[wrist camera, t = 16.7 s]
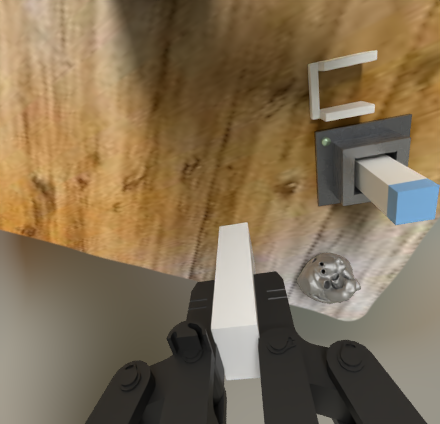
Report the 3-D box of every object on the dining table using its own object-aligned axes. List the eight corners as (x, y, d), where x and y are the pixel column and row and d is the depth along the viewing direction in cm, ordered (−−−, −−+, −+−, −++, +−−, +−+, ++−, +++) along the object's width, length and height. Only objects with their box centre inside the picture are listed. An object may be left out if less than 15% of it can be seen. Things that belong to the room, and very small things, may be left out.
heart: (276, 261, 51) (297, 318, 41) (313, 227, 47) (347, 280, 38) (312, 281, 55) (340, 337, 45) (350, 250, 52) (388, 304, 42)
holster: (307, 64, 37) (315, 63, 33) (362, 52, 36) (377, 50, 32) (310, 118, 40) (317, 123, 36) (361, 108, 39) (374, 112, 35)
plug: (348, 155, 41) (398, 192, 29) (376, 149, 41) (439, 185, 28) (348, 179, 43) (395, 225, 31) (375, 174, 43) (434, 218, 30)
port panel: (314, 131, 41) (324, 139, 36) (409, 113, 39) (432, 119, 35) (317, 204, 46) (327, 219, 42) (401, 191, 44) (420, 205, 40)
